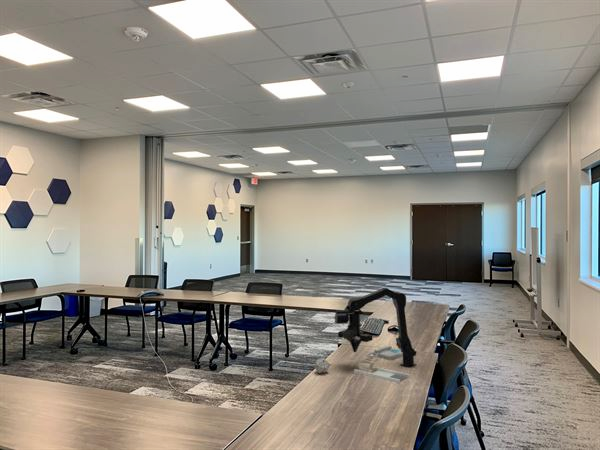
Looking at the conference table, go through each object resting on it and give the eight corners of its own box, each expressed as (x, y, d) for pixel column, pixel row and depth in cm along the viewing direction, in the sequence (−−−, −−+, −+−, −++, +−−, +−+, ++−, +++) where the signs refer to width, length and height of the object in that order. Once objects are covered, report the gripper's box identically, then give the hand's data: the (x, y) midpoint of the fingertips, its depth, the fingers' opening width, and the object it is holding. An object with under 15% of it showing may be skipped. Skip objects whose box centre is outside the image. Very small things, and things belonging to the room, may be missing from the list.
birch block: (365, 368, 228) (365, 360, 228) (375, 370, 224) (375, 362, 224) (359, 371, 224) (358, 362, 224) (368, 373, 220) (368, 364, 220)
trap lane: (365, 367, 231) (365, 364, 231) (410, 377, 214) (410, 374, 214) (353, 372, 223) (353, 369, 223) (399, 383, 206) (399, 380, 206)
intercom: (361, 352, 246) (388, 344, 263) (361, 359, 246) (388, 351, 263) (380, 356, 236) (406, 348, 253) (380, 364, 236) (406, 355, 253)
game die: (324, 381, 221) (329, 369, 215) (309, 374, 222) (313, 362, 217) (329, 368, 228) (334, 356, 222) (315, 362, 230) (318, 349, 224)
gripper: (331, 323, 230) (331, 352, 229) (360, 327, 217) (361, 358, 217) (343, 319, 238) (344, 348, 238) (372, 324, 226) (373, 354, 225)
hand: (355, 352), depth 229 cm, fingers closed
